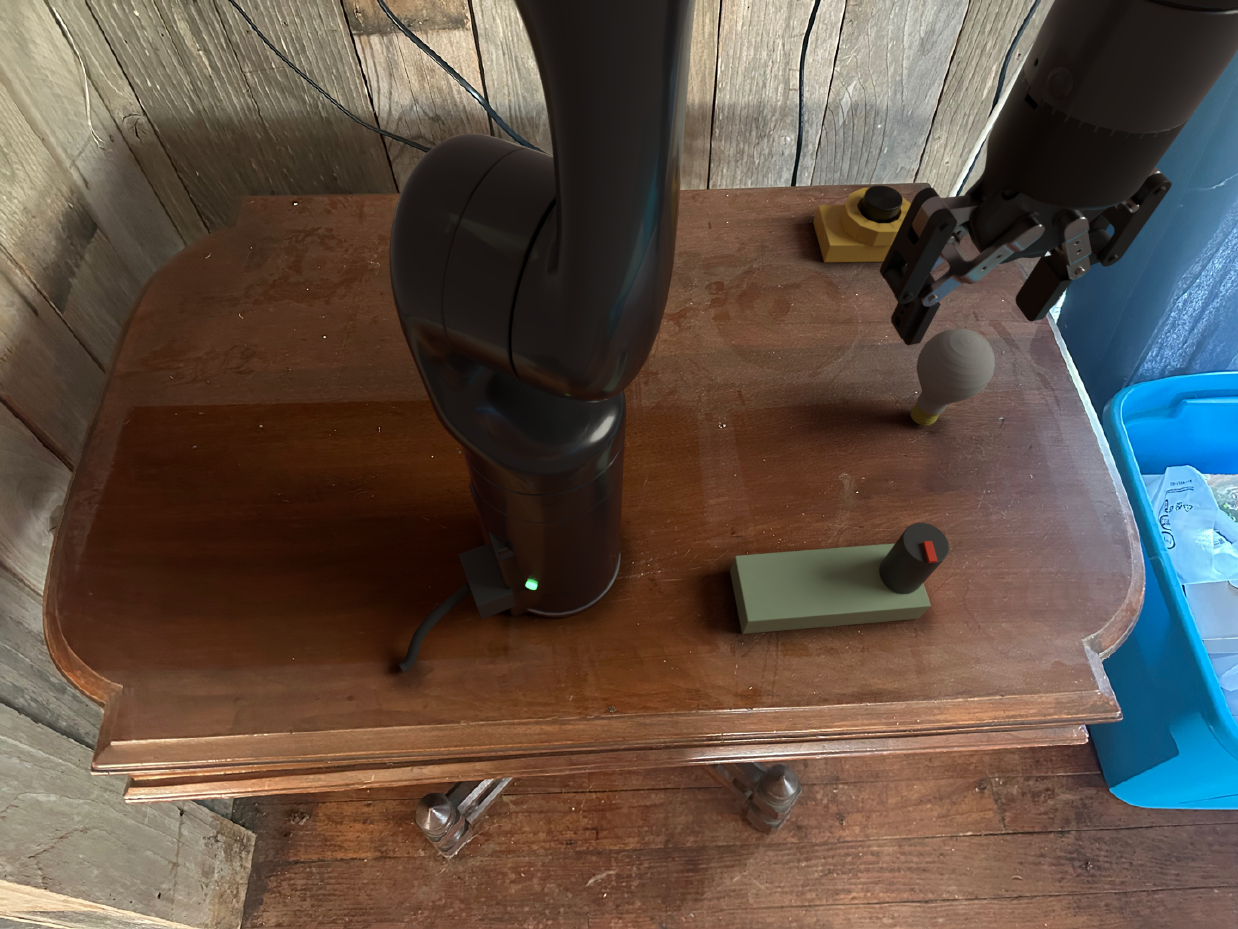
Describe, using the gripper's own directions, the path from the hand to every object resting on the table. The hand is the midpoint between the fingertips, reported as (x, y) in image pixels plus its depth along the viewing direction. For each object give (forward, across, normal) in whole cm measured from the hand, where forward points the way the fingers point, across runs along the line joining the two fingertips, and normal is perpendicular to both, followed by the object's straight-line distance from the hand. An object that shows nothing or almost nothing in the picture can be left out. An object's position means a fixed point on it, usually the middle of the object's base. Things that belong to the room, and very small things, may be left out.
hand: (966, 322), depth 48 cm
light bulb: (+17, -5, -3) cm, 18 cm away
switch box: (+17, -10, -25) cm, 31 cm away
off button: (+13, -10, -25) cm, 30 cm away
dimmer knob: (+14, +5, +10) cm, 18 cm away
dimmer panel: (+16, +10, +10) cm, 21 cm away
